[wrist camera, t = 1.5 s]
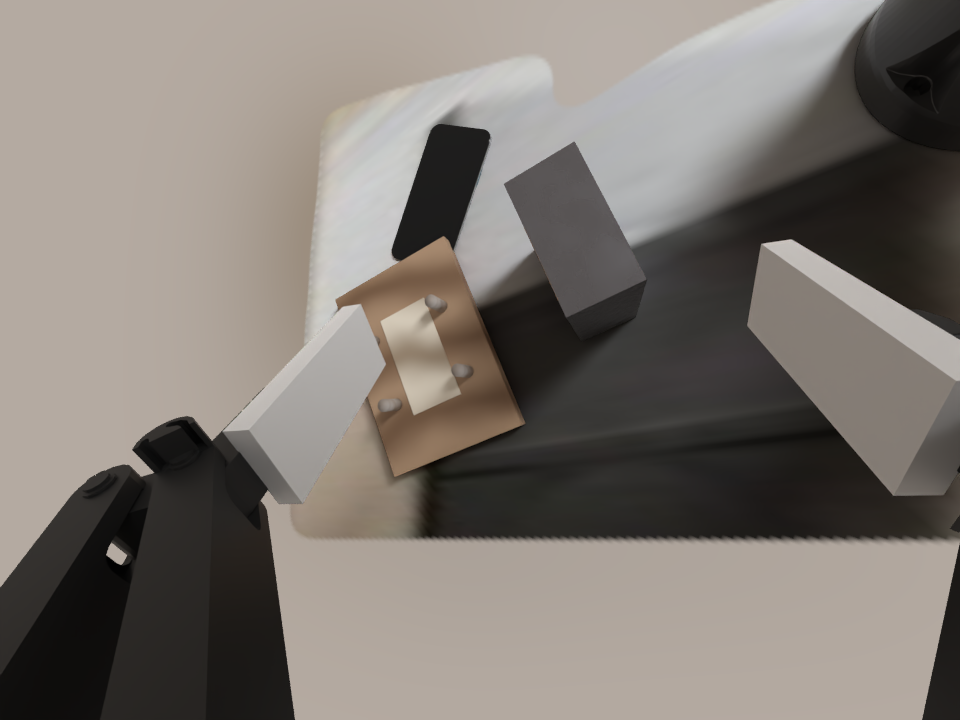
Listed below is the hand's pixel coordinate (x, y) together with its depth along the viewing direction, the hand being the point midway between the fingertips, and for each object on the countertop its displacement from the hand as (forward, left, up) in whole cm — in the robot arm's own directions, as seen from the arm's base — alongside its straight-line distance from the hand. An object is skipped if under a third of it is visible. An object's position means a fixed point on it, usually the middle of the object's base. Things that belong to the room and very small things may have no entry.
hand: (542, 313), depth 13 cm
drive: (+2, -7, -23) cm, 24 cm away
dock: (+16, +3, -23) cm, 28 cm away
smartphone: (+18, -14, -23) cm, 33 cm away
